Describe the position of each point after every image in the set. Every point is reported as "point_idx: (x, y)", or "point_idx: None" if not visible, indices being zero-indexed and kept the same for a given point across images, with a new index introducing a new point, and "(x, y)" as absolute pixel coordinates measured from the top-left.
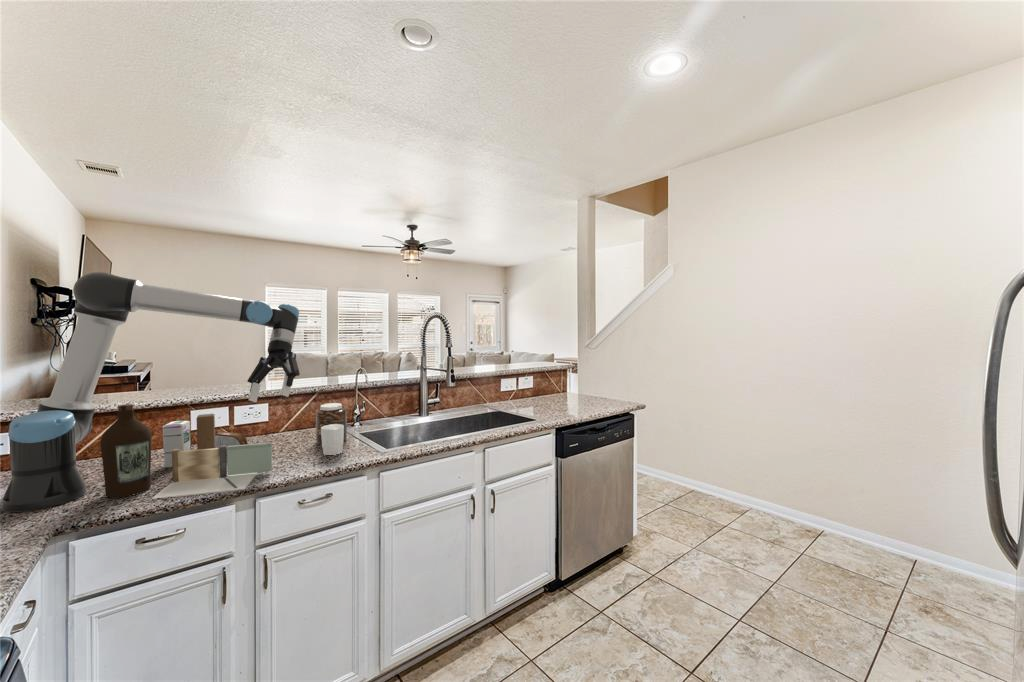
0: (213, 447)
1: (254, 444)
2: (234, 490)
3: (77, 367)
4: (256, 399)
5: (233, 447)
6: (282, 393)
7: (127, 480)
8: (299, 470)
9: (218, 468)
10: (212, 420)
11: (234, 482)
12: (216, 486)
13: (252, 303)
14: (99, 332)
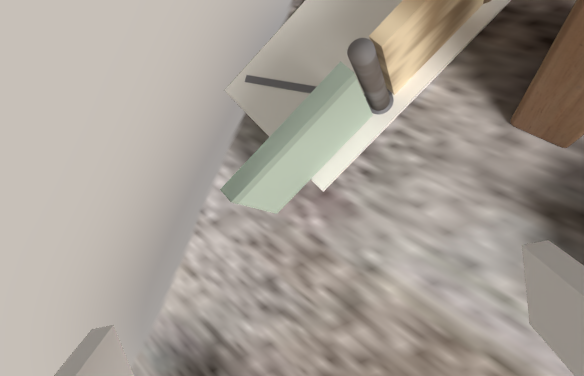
0: (530, 87)
1: (270, 146)
2: (242, 73)
3: None
4: (544, 333)
5: (322, 82)
6: (91, 334)
7: None
8: (217, 270)
9: (384, 76)
10: (573, 6)
11: (292, 96)
12: (308, 51)
13: None
14: None
